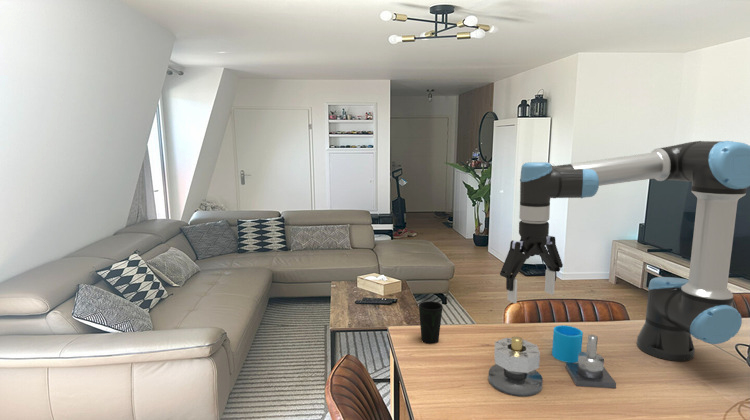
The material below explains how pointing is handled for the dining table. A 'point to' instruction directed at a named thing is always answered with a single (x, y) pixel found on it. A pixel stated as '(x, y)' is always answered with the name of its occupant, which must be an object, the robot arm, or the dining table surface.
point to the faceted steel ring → (517, 356)
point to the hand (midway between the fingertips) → (531, 297)
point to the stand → (590, 368)
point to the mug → (567, 343)
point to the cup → (430, 321)
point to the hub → (515, 377)
